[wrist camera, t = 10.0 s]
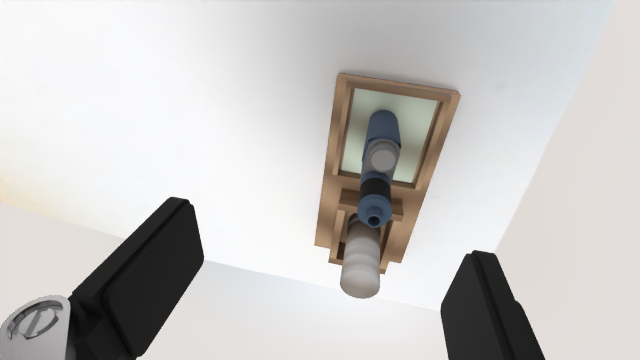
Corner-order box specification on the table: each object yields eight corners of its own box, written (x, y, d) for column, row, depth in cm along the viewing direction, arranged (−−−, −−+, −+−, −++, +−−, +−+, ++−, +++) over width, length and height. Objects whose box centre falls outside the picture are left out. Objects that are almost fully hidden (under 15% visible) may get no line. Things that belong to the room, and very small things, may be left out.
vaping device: (360, 155, 30) (350, 231, 20) (372, 105, 28) (367, 164, 17) (386, 160, 30) (388, 240, 20) (400, 110, 27) (412, 173, 17)
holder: (339, 73, 28) (319, 104, 19) (457, 91, 27) (494, 133, 18) (316, 237, 39) (297, 305, 30) (400, 254, 38) (405, 330, 29)
